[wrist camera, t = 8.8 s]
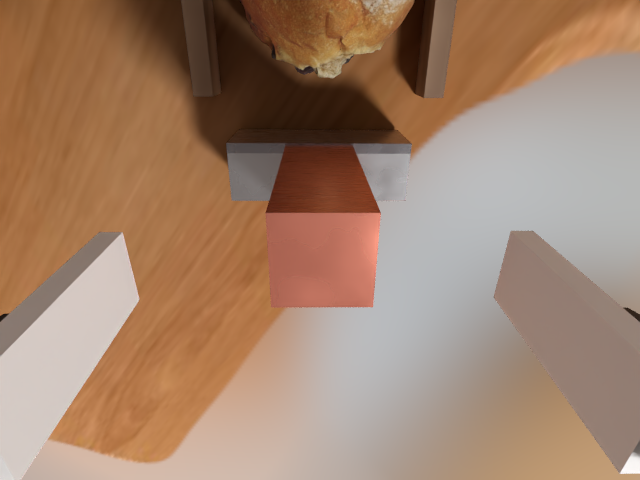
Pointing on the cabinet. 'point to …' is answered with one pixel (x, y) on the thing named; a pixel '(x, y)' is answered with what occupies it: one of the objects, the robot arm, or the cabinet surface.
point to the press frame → (429, 64)
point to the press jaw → (320, 207)
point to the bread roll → (324, 29)
